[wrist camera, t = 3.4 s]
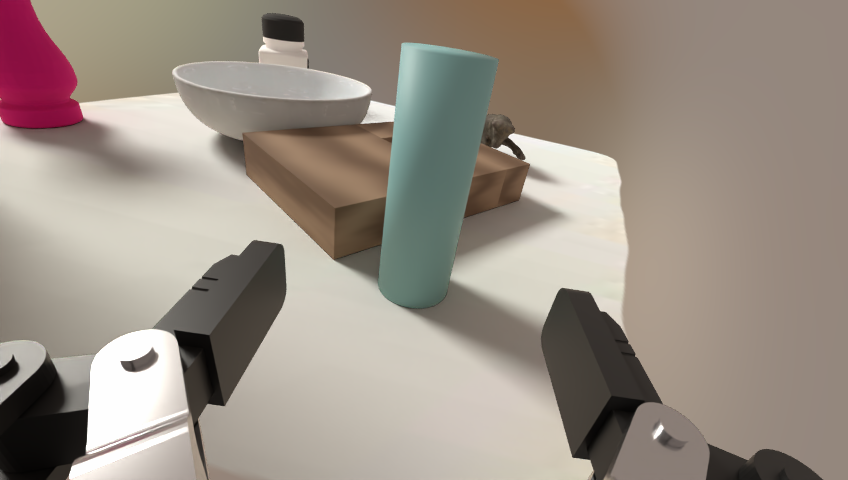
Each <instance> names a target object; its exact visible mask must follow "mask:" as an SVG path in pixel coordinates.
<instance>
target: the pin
mask: <svg viewBox="0 0 848 480" xmlns="http://www.w3.org/2000/svg"><path fill="white" fill-rule="evenodd" d="M498 62H499V59H497V58H494V57H491V56H488V55H484V54H479V53H475V52H470V51H465V50H459V49H454V48H448V47H442V46H435V45H427V44H418V43H402V48H401V58H400V68H399V78H398V88H397V98H396V108H395V118H394V128H393V138H392V148H391V158H390V167H389V177H388V187H387V197H386V207H385V217H384V227H383V237H382V247H381V257H380V267H379V277H378V287H379V289H380V291H381V293H382V294H383V295H384V296H385V297H386V298H387V299H388V300H390V301H391V302H393V303H395V304H398V305H400V306H404V307H408V308H427V307H431V306H434V305H436V304H438V303H440V302H441V301H442V300H443V299H444V298H445V296H446V293H447V289H448V285H449V280H450V276H451V271H452V267H453V262H454V258H455V253H456V249H457V244H458V240H459V236H460V231H461V227H462V222H463V218H464V213H465V209H466V204H467V200H468V195H469V191H470V187H471V182H472V178H473V173H474V169H475V164H476V160H477V155H478V151H479V146H480V142H481V138H482V133H483V129H484V124H485V120H486V115H487V110H488V106H489V102H490V97H491V93H492V88H493V84H494V80H495V75H496V71H497V66H498Z"/></svg>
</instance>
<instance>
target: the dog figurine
mask: <svg viewBox="0 0 848 480" xmlns="http://www.w3.org/2000/svg"><path fill="white" fill-rule="evenodd" d="M514 132H515V128H514V126H513V125H512V123H511V121H510V119H509V118H508V117H506V116H504V115H501V114H500V115H495V114H490V115H489V114H488V115H486V120H485V124H484V129H483V133H482V138H481V142H480V143H482V144H484V145H486V146H489V147H493V148H499V147H500V146H501V144H502V145H505V146H507V147H509V148H510V149H511V150H512V151H513V154H515V155H516V156H517V158H518V159H520V160H525V156H524V154H523V152H522V151H521V149H520V148H519V147H518V146H517V145H516V144H514V142H513V141H512V140H510V139H509V138H508V136H509V135H510V134H512V133H514Z"/></svg>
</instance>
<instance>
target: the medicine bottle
mask: <svg viewBox="0 0 848 480" xmlns="http://www.w3.org/2000/svg"><path fill="white" fill-rule="evenodd" d="M262 29H263V41H264V42H265V43H266V45H263V46H262V47H261V48H260V50H259V63H265V64H276V65H285V66H292V67H300V68H306V69H309V65H308V64H309V60H308V54H307V51H306V50H303V49H302V47H304V23H303V22H302V20H300V19H299V18H297V17H293V16H289V15H284V14H276V13H267V14H265V15H263V16H262Z"/></svg>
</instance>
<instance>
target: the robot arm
mask: <svg viewBox="0 0 848 480" xmlns="http://www.w3.org/2000/svg"><path fill="white" fill-rule="evenodd" d="M285 296H286V272H285V255H284V248H283V245H282V244H276V243H270V242H263V241H257V240H254V241H252V242H251V243H250V244H249V245H248V246H247V247H246V249H245V250H244V251H243V252H242V253H241V254H240V255H239V256H237V255H230V256H228V257H226V258H224V259H223V260H221V261H219V262H217V263H215V264H214V265H213V266H212V267H211V268H210V269H209V270H208V271H207V272H206V273H205V274H204V275H203V276H202V279H199V280H198V281H197V282H196V283H195V284H194V285H193V287H192V290H189V291H188V292H187V293H186V294H185V295H184V296H183V297H182V298H181V299H180V300H179V301H178V302H177V303H176V304H175V305H174V306H173V307H172V308H171V309H170V311H169V312H168V313H167V314H166V315H165V316H164V317H163V318H162V319H161V320H160V321H159V322H158V323H157V324H156V325H155V326H154V327H153V328H152V329H151V330H142V331H137V332H134V333H130V334H127V335H125V336H122V337H120V338H118V339H116V340H115V341H113V342H111V343H110V344H108V345H107V346H106V347H105V348H103V349H102V350H101V351H100V352H99V353H98V354H90V355H80V356H71V357H61V358H50V356H49V354H48V353H47V351H46V349H45V347H44V346H43V345H42V344H40V343H38V342H35V341H30V340H15V341H8V342H3V343H0V480H66V479H67V477H68V476H69V475H70V480H210V476H209V470H208V465H207V459H206V454H205V448H204V443H203V437H202V431H201V426H200V421H199V416H200V415H201V413H202V412H203V410H204V408H205V407H206V405H207V404H213V405H220V406H225V405H226V403H227V401H228V399H229V398H230V396H231V394H232V393H233V391H234V389H235V387H236V386H237V384H238V382H239V380H240V379H241V377H242V375H243V374H244V372H245V370H246V368H247V367H248V365H249V363H250V362H251V360H252V358H253V356H254V355H255V353H256V351H257V349H258V348H259V346H260V344H261V343H262V341H263V339H264V337H265V336H266V334H267V332H268V330H269V329H270V327H271V325H272V324H273V322H274V320H275V318H276V317H277V315H278V313H279V312H280V310H281V308H282V306H283V303H284V300H285ZM541 344H542V350H543V353H544V357H545V360H546V364H547V368H548V371H549V375H550V378H551V382H552V386H553V389H554V393H555V396H556V400H557V404H558V407H559V411H560V414H561V418H562V421H563V425H564V429H565V432H566V436H567V439H568V443H569V447H570V450H571V454H572V457H573V458H580V459H587V460H591V463H592V467H593V472H592V473H591V475H590V476H589V478H588V480H823V479H822V478H820V477H819V476H818V475H817V474H816V473H815V472H813V471H812V470H811V469H810V468H808V467H807V466H806V465H804V464H803V463H801V462H800V461H798V460H796V459H794V458H793V457H791V456H788V455H787V454H784V453H782V452H779V451H775V450H770V449H763V450H760V451H758V452H757V453H756V454H755V455H754V456H752V457H751V458H750V459H749V460H745V459H743V458H741V457H738V456H736V455H733V454H731V453H729V452H726V451H724V450H722V449H719V448H717V447H714V446H712V445H710V444H708V443H707V442H706V440H705V438H704V437H703V435H702V434H701V432H700V431H699V430H698V428H697V427H696V426H695V425H694V424H693V423H692V422H691V421H690V420H689V419H687V418H686V417H685V416H684V415H682V414H681V413H679V412H678V411H676V410H674V409H672V408H670V407H668V406H666V405H663V404H662V401H661V400H660V398H659V396H658V394H657V393H656V390H655V389H654V387H653V385H652V383H651V381H650V380H649V378H648V376H647V374H646V372H645V371H644V369H643V367H642V365H641V363H640V361H639V360H638V358H637V357H635V352H634V351H633V349H632V347H631V345H630V344H628V340H627V338H626V336H625V334H624V332H623V330H622V329H621V327H620V326H619V325H618V324H617V323H616V322H615V321H614V320H613V319H612V318H611V317H610V316H609V315H608V314H607V313H606V312H601V311H600V310H599V308H598V306H597V304H596V302H595V300H594V298H593V296H592V295H591V293H589V292H586V291H579V290H573V289H566V288H561V289H560V290H559V291H558V293H557V295H556V298H555V300H554V302H553V305H552V307H551V309H550V312H549V314H548V317H547V319H546V321H545V324H544V326H543V330H542V336H541Z"/></svg>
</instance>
